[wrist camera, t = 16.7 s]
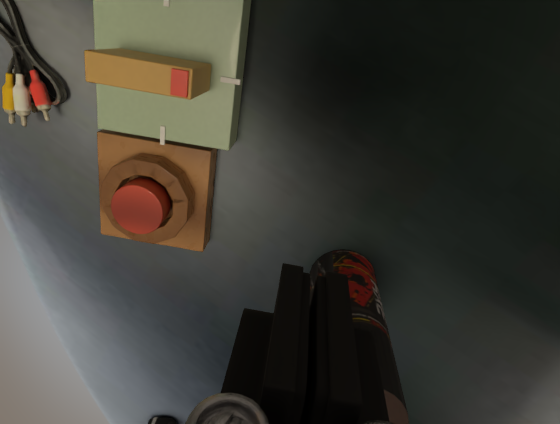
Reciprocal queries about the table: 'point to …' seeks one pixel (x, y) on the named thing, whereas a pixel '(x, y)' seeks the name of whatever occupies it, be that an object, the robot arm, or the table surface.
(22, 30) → the composite cable
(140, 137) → the button block
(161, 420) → the battery charger
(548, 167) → the table surface
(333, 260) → the deodorant
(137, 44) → the green lever base
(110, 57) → the lock lever
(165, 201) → the button
